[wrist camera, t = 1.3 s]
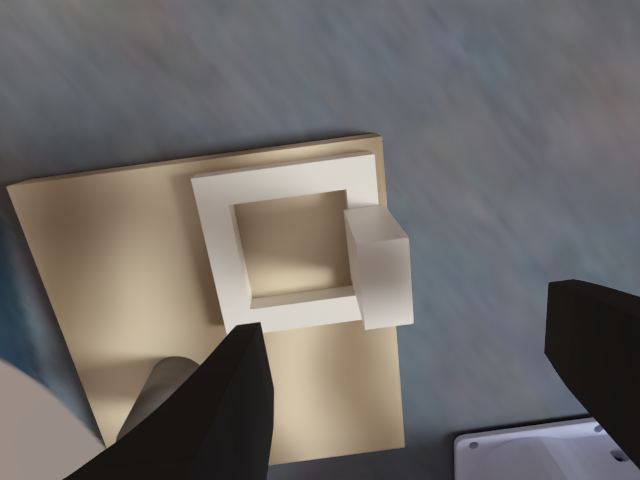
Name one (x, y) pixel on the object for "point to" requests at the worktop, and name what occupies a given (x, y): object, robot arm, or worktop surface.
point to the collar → (361, 232)
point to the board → (209, 296)
